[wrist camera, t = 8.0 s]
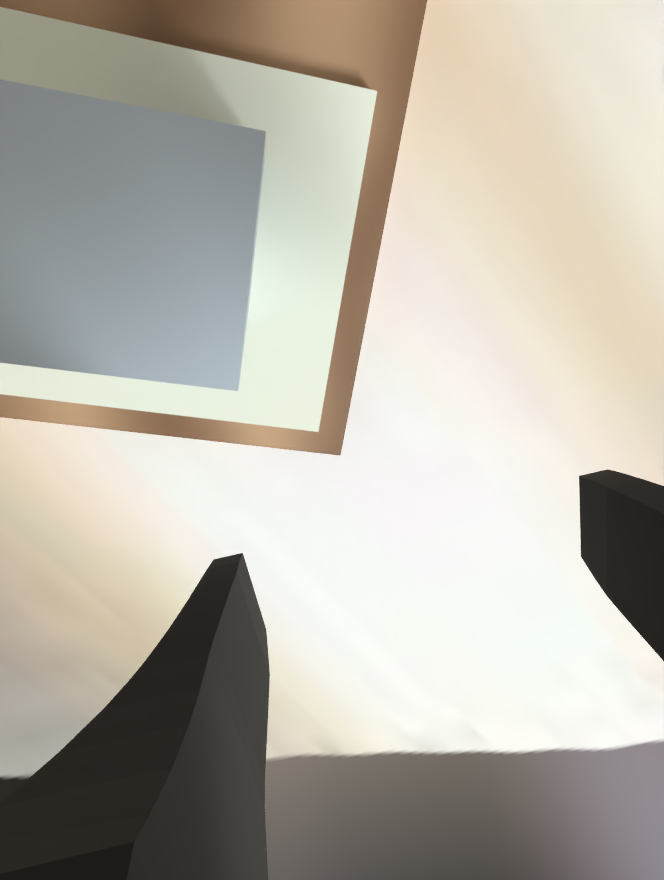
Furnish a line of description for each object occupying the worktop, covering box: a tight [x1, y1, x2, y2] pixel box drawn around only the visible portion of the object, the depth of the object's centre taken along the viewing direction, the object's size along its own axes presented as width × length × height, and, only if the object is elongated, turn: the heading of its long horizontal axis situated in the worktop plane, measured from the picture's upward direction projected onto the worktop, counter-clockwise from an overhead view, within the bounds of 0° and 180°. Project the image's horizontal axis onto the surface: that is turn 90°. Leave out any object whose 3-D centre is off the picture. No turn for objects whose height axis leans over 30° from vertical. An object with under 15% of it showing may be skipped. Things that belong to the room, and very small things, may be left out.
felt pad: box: [0, 7, 377, 432], centre depth 17 cm, size 10×10×1 cm
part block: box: [0, 79, 266, 391], centre depth 13 cm, size 4×4×7 cm
